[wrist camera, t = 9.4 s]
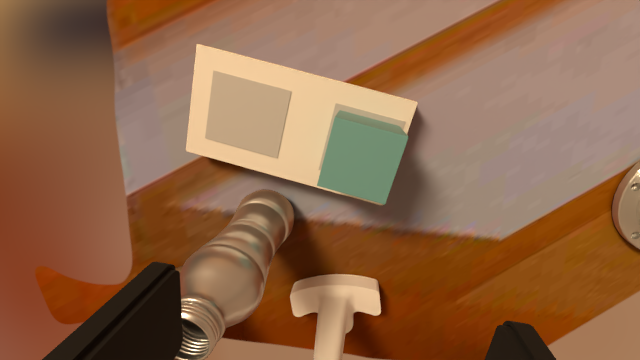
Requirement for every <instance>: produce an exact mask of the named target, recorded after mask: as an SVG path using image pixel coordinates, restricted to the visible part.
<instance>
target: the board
mask: <svg viewBox="0 0 640 360" xmlns="http://www.w3.org/2000/svg"><path fill="white" fill-rule="evenodd" d="M417 104H418V102H415V101H413V100H409V99H405V98H402V97H398V96H394V95H390V94H386V93H383V92H379V91H375V90H371V89H368V88H364V87H360V86H356V85H352V84H349V83H345V82H341V81H337V80H334V79H330V78H326V77H322V76H318V75H315V74H311V73H307V72H303V71H300V70H296V69H292V68H288V67H284V66H281V65H277V64H273V63H269V62H266V61H262V60H258V59H254V58H250V57H247V56H243V55H239V54H235V53H232V52H228V51H224V50H220V49H217V48H213V47H209V46H204V45H200V44H197V48H196V58H195V67H194V77H193V87H192V96H191V106H190V115H189V125H188V135H187V144H186V151H188V152H191V153H195V154H199V155H202V156H206V157H209V158H213V159H216V160H220V161H224V162H227V163H231V164H234V165H238V166H241V167H245V168H249V169H252V170H256V171H259V172H263V173H267V174H270V175H274V176H277V177H281V178H284V179H288V180H292V181H295V182H299V183H302V184H306V185H310V186H313V187H317V188H320V189H324V190H327V191H331V192H335V193H338V194H342V195H345V196H349V197H352V198H356V199H360V200H363V201H367V202H370V203H374V204H378V205H381V206H382V205H383V204H381V203H377V202H373V201H370V200H366V199H363V198H359V197H356V196H352V195H348V194H345V193H341V192H338V191H334V190H330V189H327V188H323V187H320V186H317V183H318V179H319V176H320V172H321V168H322V164H323V160H324V157H325V153H326V149H327V145H328V141H329V137H330V134H331V130H332V126H333V122H334V118H335V116H336V114H337V113H338V112H339V110H341V111H345V112H349V113H353V114H356V115H360V116H364V117H368V118H371V119H375V120H379V121H382V122H386V123H390V124H394V125H397V126H400V127H401V128H402V130H403V131H404V132H405V133H406V134H407V133H408V130H409V127H410V124H411V121H412V118H413V115H414V112H415V110H416V107H417Z"/></svg>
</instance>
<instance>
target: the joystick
mask: <svg viewBox="0 0 640 360" xmlns="http://www.w3.org/2000/svg"><path fill="white" fill-rule="evenodd" d="M290 300H291V305H292V310H293V314H294V315H295V316H297V317H301V316H303V315H306V314H309V313H312V312H316V313H318V319H317V329H316V339H315V348H314V358H313V360H342V355H343V347H344V340H345V334H346V333H348V332H349V331H350V330H351V329H352V327H353V314H354V313H355V312H358V311H359V312H364V313H368V314H371V315H375V316H377V315H379V314H380V313H381V306H380V294H379V284H378V281H377V280H376V279H373V278H368V277H364V276H357V275H348V274H330V275H320V276H315V277H310V278H306V279H303V280H300V281H297V282H295V283H294V285H293V288H292V291H291V294H290Z"/></svg>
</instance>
